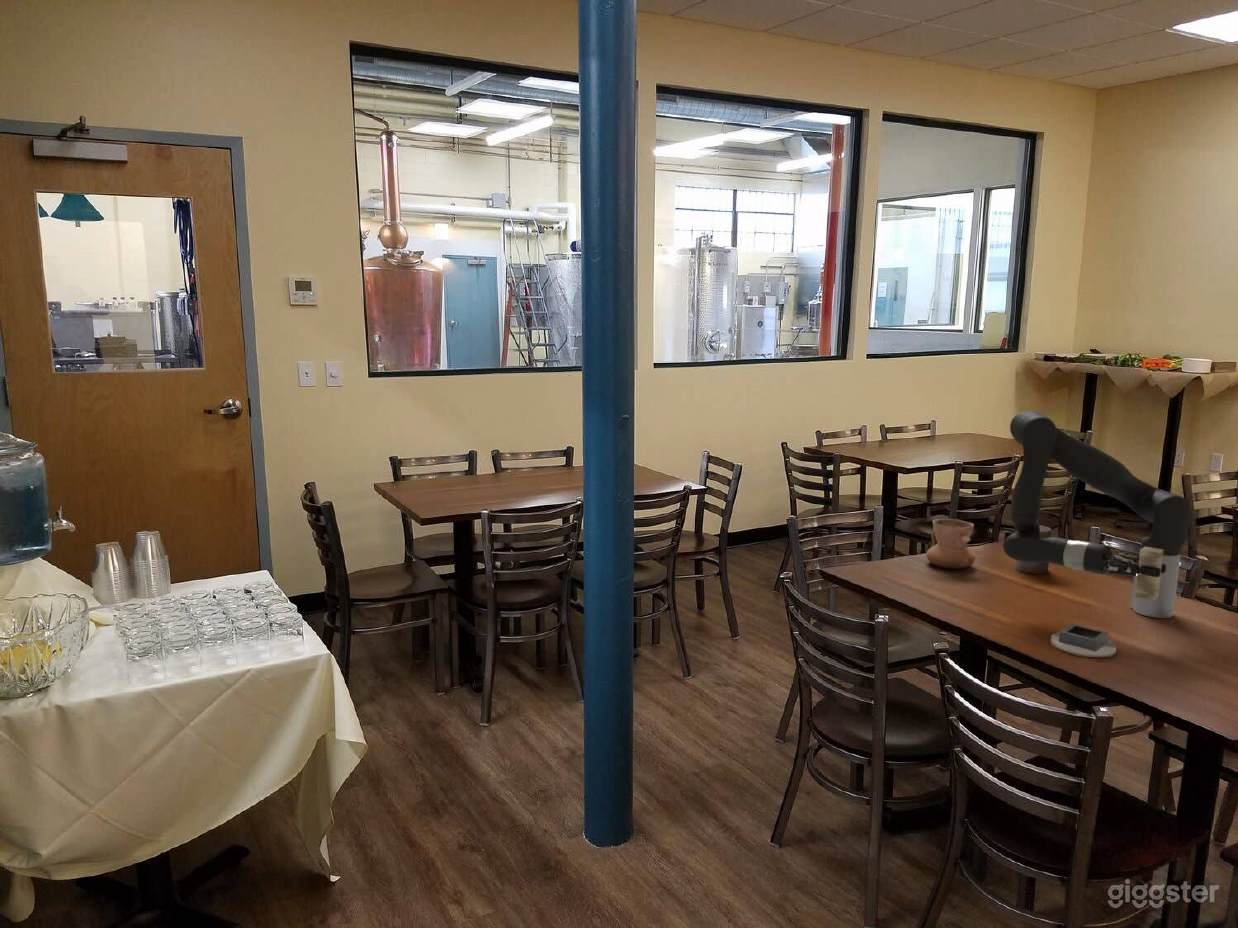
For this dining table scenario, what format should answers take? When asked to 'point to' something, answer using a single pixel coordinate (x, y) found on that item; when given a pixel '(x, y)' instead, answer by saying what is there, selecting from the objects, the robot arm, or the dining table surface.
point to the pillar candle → (1035, 566)
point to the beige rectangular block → (1147, 584)
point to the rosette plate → (1084, 641)
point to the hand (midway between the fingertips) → (1162, 570)
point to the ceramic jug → (951, 544)
